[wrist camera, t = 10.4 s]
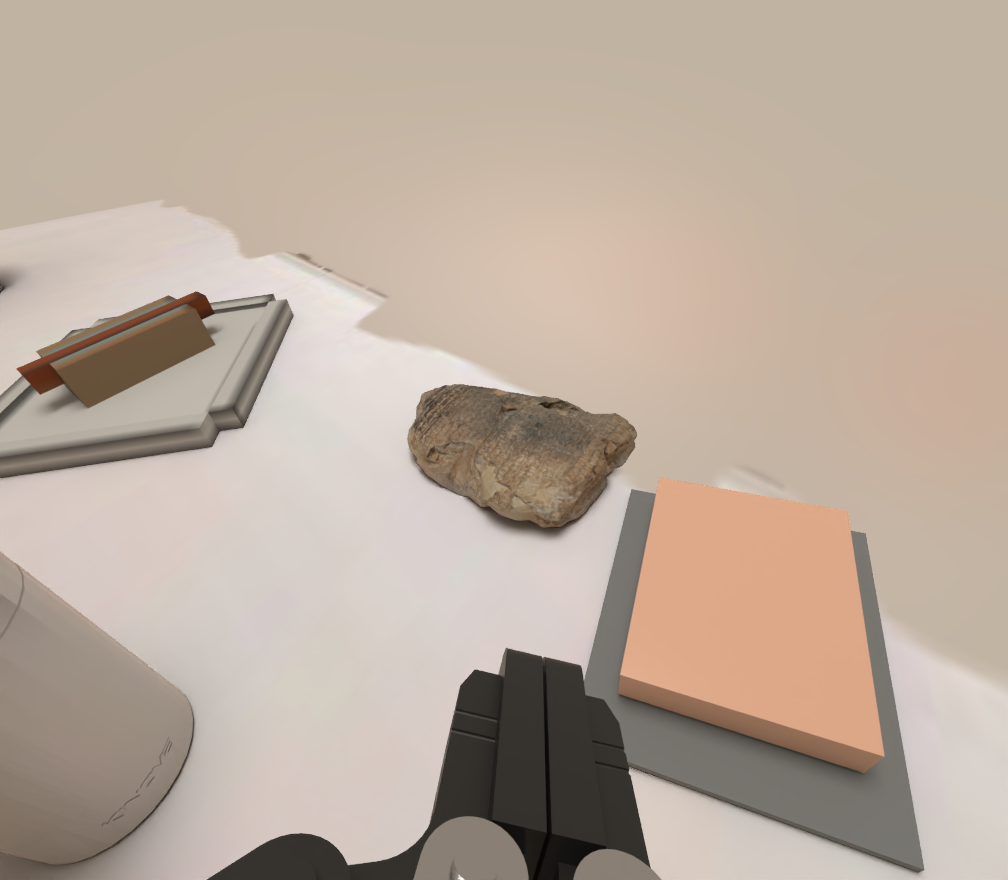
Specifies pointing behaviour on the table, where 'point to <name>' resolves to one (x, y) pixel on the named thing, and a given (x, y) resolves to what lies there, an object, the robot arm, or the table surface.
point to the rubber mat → (747, 760)
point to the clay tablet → (518, 450)
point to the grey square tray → (141, 383)
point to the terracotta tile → (754, 623)
